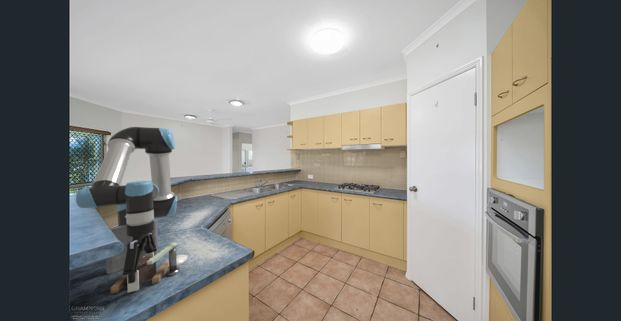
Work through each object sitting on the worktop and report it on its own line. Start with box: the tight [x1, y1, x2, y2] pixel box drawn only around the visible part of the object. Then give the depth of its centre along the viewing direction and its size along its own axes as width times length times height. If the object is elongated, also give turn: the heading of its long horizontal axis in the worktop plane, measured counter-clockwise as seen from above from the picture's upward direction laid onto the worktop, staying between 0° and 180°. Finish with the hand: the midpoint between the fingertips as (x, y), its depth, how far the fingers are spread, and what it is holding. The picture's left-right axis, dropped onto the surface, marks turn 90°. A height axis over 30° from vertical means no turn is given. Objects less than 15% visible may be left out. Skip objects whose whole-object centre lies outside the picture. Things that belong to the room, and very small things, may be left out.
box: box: [137, 256, 157, 287], centre depth 68 cm, size 6×6×7 cm
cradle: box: [110, 263, 169, 295], centre depth 68 cm, size 10×13×2 cm
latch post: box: [165, 247, 181, 277], centre depth 71 cm, size 4×4×10 cm
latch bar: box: [147, 242, 178, 265], centre depth 66 cm, size 3×14×1 cm, turn 8°
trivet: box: [161, 254, 188, 269], centre depth 79 cm, size 9×9×1 cm
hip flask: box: [105, 218, 159, 275], centre depth 78 cm, size 16×4×20 cm, turn 138°
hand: (142, 279), depth 68 cm, fingers open, 12 cm apart
